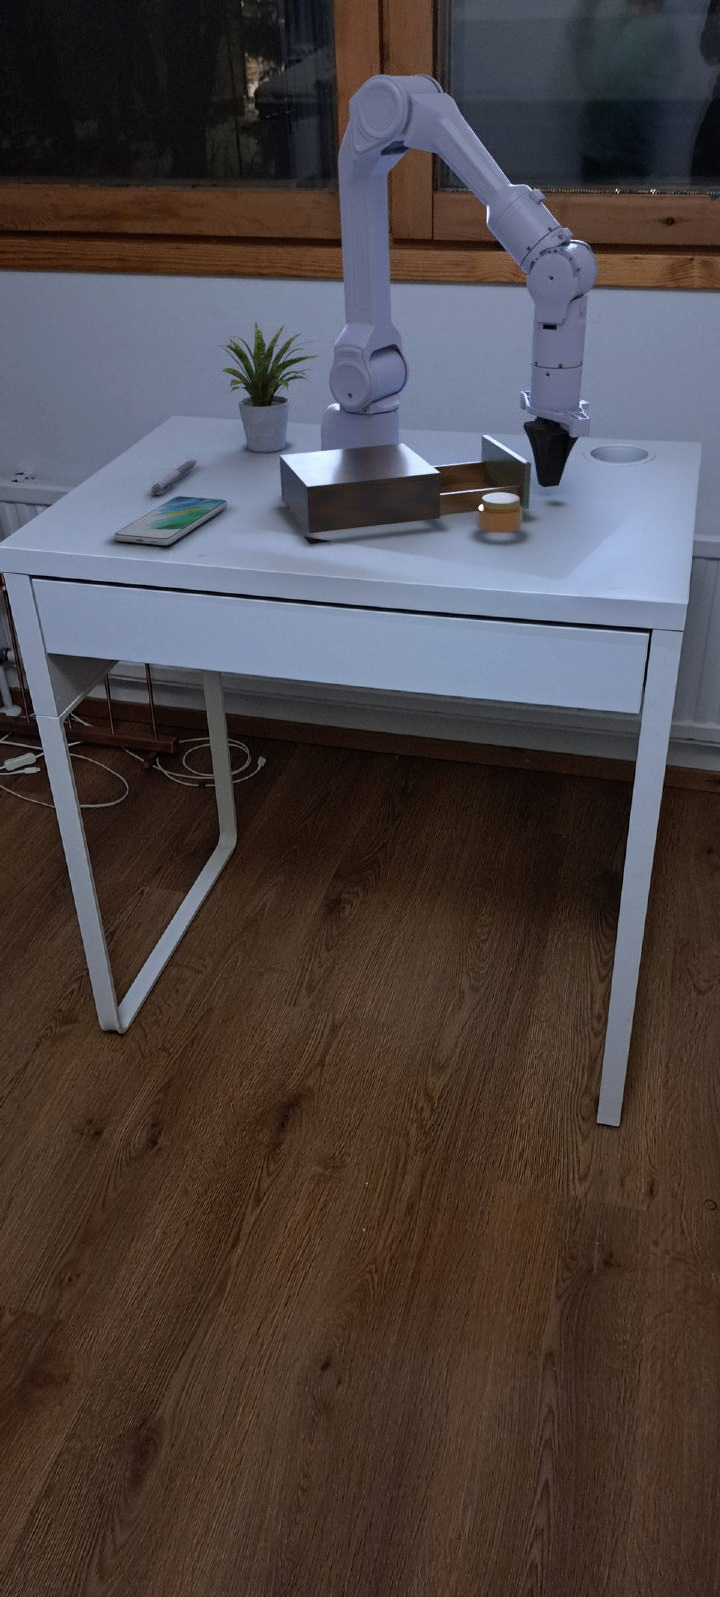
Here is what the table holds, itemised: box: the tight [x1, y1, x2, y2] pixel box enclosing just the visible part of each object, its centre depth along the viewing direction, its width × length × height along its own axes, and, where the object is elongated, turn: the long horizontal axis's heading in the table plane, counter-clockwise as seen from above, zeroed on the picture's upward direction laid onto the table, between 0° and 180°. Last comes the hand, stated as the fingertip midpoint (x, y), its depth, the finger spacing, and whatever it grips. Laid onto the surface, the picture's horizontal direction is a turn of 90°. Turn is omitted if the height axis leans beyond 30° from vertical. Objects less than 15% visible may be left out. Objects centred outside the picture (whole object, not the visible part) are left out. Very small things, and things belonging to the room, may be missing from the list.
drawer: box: [431, 434, 532, 516], centre depth 135 cm, size 16×13×6 cm
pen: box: [150, 458, 197, 495], centre depth 148 cm, size 1×14×1 cm, turn 165°
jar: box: [477, 492, 523, 533], centre depth 127 cm, size 5×5×4 cm
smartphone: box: [113, 495, 228, 546], centre depth 134 cm, size 7×1×15 cm
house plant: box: [219, 322, 319, 453], centre depth 157 cm, size 14×14×16 cm
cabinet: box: [279, 442, 441, 545], centre depth 133 cm, size 15×13×6 cm
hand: (548, 484), depth 136 cm, fingers closed
